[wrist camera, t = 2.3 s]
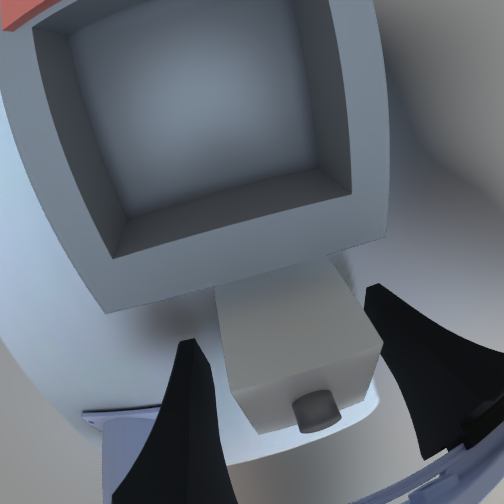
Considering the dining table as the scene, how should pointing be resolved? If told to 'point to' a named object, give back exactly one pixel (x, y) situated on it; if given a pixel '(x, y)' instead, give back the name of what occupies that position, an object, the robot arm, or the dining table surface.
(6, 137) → the dining table surface
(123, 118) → the socket plate
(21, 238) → the dining table surface
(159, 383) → the dining table surface
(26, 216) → the dining table surface
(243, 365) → the plug
